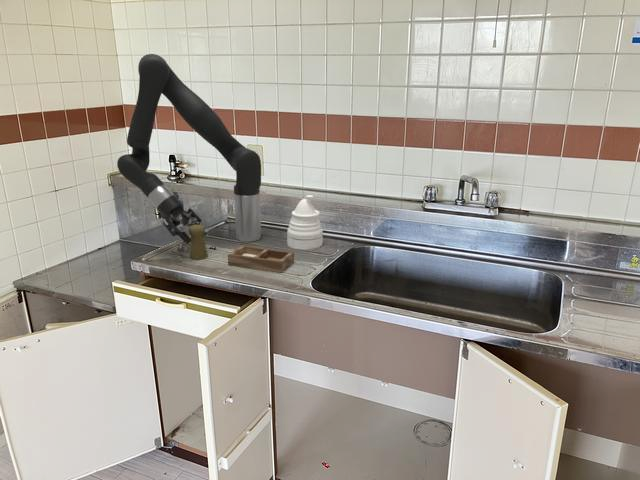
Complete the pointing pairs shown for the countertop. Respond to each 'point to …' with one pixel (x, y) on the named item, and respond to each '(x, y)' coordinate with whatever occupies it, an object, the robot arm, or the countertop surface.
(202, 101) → the robot arm
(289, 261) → the spice caddy
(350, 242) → the countertop surface
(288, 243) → the honey pot
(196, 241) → the cork
